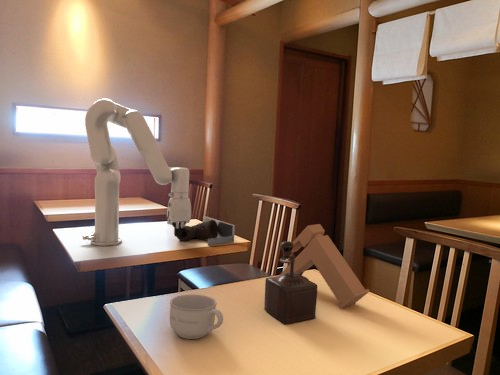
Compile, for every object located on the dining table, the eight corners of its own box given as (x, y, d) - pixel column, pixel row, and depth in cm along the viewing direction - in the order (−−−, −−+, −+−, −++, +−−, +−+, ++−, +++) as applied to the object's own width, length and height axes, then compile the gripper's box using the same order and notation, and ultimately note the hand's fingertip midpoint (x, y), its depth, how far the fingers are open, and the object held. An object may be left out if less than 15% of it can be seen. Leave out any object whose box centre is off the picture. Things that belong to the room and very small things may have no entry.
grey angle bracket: (209, 246, 177) (209, 228, 176) (180, 234, 196) (181, 218, 195) (235, 242, 186) (235, 225, 185) (205, 231, 205) (206, 216, 204)
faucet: (323, 329, 129) (284, 263, 141) (369, 291, 116) (322, 222, 128) (308, 335, 125) (269, 266, 137) (355, 296, 111) (307, 224, 124)
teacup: (160, 331, 96) (161, 298, 95) (196, 319, 104) (198, 288, 103) (195, 355, 86) (197, 318, 86) (233, 339, 94) (235, 306, 93)
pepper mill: (318, 318, 108) (323, 252, 106) (284, 325, 103) (288, 256, 101) (285, 297, 122) (289, 238, 120) (253, 303, 116) (257, 241, 114)
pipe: (174, 224, 183) (204, 221, 179) (188, 220, 198) (217, 218, 193) (176, 245, 183) (206, 243, 179) (190, 240, 198) (219, 239, 193)
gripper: (168, 197, 171) (166, 240, 173) (198, 196, 181) (196, 236, 183) (160, 195, 177) (158, 236, 179) (189, 194, 186) (188, 233, 188)
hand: (177, 236), depth 181 cm, fingers closed
